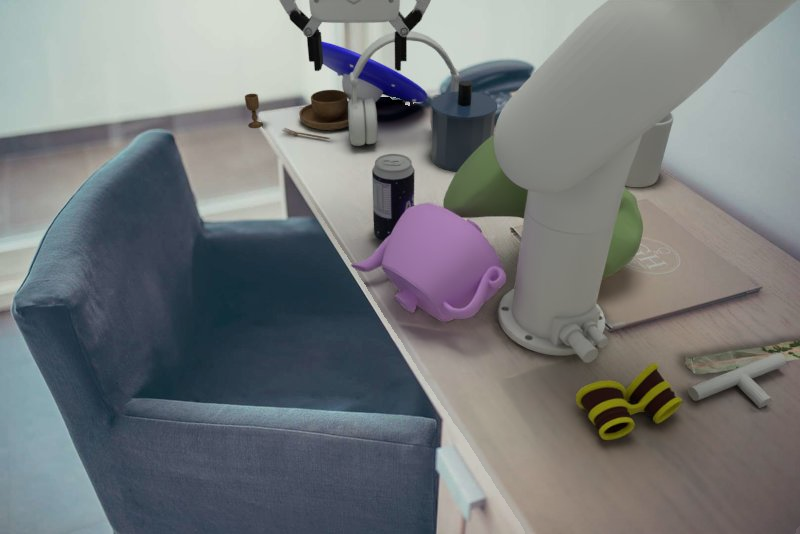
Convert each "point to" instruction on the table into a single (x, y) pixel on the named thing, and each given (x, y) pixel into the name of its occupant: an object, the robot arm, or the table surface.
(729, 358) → the bookmark
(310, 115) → the place setting
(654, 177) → the mug
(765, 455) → the table surface
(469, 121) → the pot
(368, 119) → the headphones
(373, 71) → the toy spaceship
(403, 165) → the beverage can
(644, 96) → the robot arm
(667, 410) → the opera glasses
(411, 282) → the teapot
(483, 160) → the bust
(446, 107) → the pot lid
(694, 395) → the pipe joint
